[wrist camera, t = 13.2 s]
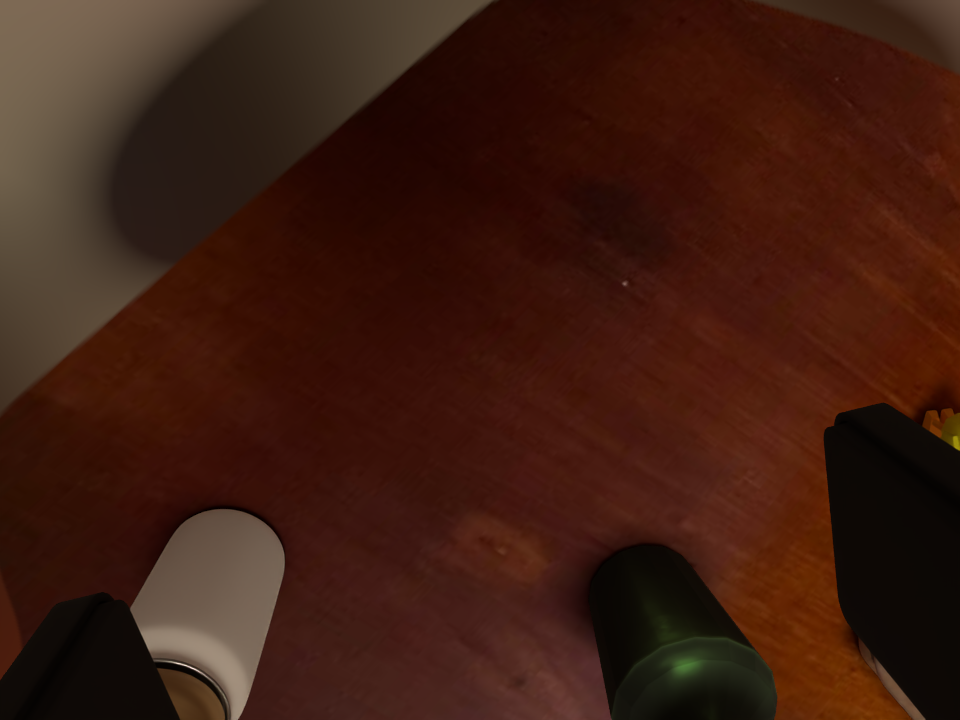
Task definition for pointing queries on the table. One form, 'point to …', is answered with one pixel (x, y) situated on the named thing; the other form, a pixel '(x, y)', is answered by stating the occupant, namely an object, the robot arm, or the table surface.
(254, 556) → the can
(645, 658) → the potion bottle
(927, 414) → the toy figure
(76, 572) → the table surface
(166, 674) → the cylinder
